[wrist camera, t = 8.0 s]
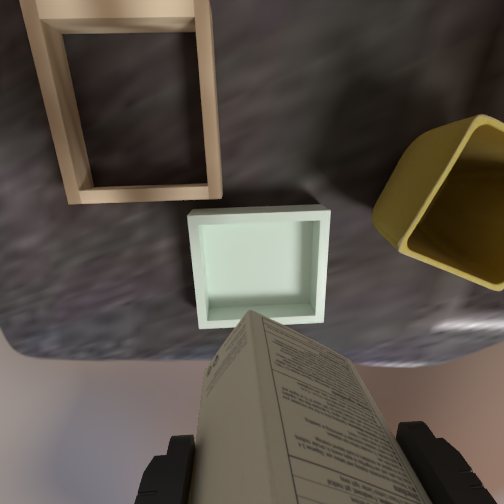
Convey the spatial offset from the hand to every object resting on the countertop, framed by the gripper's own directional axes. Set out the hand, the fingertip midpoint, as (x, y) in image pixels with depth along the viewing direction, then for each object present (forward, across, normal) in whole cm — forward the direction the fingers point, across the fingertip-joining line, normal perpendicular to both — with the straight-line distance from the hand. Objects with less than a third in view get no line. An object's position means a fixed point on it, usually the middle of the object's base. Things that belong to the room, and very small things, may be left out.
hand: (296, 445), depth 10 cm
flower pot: (+19, -14, -6) cm, 24 cm away
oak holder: (+18, +9, -13) cm, 24 cm away
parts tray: (+18, 0, 0) cm, 18 cm away
